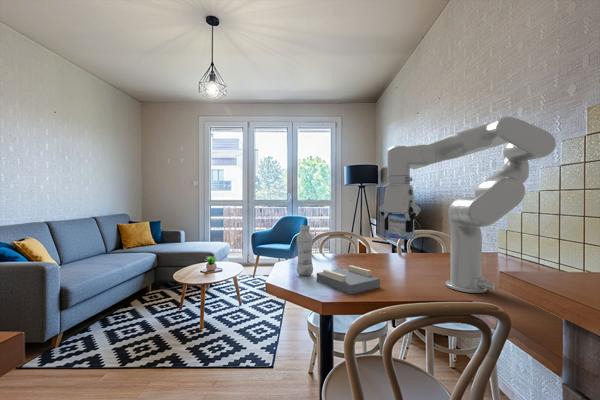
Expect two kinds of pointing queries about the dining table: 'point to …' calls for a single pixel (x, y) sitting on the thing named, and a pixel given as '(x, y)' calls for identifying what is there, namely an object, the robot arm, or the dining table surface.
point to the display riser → (349, 279)
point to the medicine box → (398, 227)
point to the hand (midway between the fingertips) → (398, 230)
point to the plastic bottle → (304, 251)
